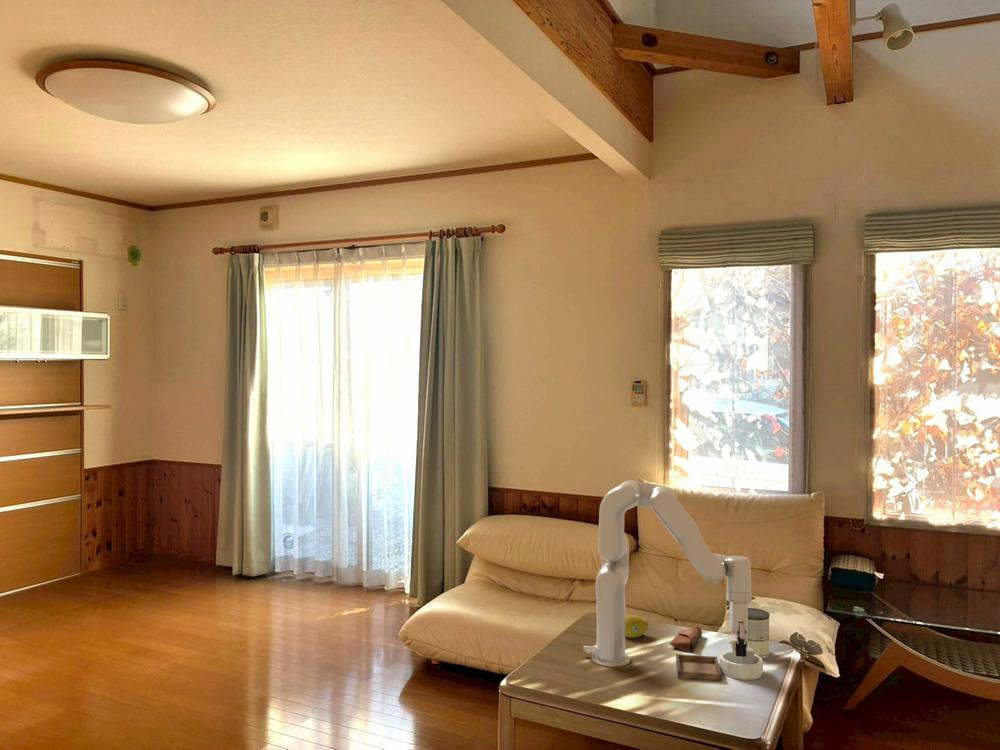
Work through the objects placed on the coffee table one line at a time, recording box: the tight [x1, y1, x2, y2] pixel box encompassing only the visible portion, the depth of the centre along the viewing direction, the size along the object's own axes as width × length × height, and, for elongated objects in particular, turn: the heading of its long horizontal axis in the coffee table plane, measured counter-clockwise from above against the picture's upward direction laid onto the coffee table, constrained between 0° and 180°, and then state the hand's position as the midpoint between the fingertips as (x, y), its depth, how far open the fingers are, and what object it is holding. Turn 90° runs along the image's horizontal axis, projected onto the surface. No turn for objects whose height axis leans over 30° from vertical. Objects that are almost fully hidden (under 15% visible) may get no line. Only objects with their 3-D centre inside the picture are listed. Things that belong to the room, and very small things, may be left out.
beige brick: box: [727, 633, 747, 658], centre depth 241 cm, size 4×4×6 cm
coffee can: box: [745, 607, 770, 659], centre depth 259 cm, size 10×10×14 cm
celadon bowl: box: [718, 650, 764, 681], centre depth 242 cm, size 13×13×4 cm
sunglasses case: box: [669, 626, 703, 653], centre depth 269 cm, size 18×7×7 cm
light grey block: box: [740, 648, 754, 665], centre depth 244 cm, size 4×4×6 cm
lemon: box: [625, 614, 649, 639], centre depth 275 cm, size 11×8×8 cm
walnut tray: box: [675, 653, 723, 683], centre depth 243 cm, size 13×16×2 cm
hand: (740, 652), depth 241 cm, fingers open, 4 cm apart
